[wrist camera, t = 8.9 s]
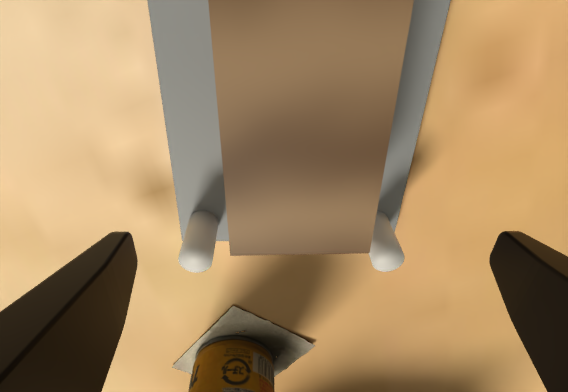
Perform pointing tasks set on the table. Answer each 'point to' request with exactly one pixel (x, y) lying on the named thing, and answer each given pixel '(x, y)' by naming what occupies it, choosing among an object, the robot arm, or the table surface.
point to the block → (305, 118)
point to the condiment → (241, 354)
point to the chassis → (206, 135)
